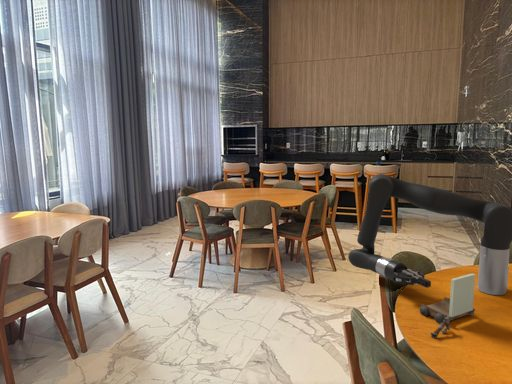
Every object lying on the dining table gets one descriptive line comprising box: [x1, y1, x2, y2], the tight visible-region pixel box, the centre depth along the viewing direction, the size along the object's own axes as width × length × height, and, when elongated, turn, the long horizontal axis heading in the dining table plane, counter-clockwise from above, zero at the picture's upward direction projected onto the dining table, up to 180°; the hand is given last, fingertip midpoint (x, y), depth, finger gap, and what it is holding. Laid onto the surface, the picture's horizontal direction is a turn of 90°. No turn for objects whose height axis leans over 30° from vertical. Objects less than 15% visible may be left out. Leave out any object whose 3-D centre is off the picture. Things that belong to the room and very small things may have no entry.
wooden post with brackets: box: [430, 318, 451, 340], centre depth 113 cm, size 2×8×4 cm, turn 123°
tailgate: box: [449, 273, 476, 317], centre depth 119 cm, size 10×1×12 cm, turn 117°
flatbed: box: [419, 296, 476, 325], centre depth 124 cm, size 14×10×3 cm
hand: (429, 284), depth 130 cm, fingers closed
